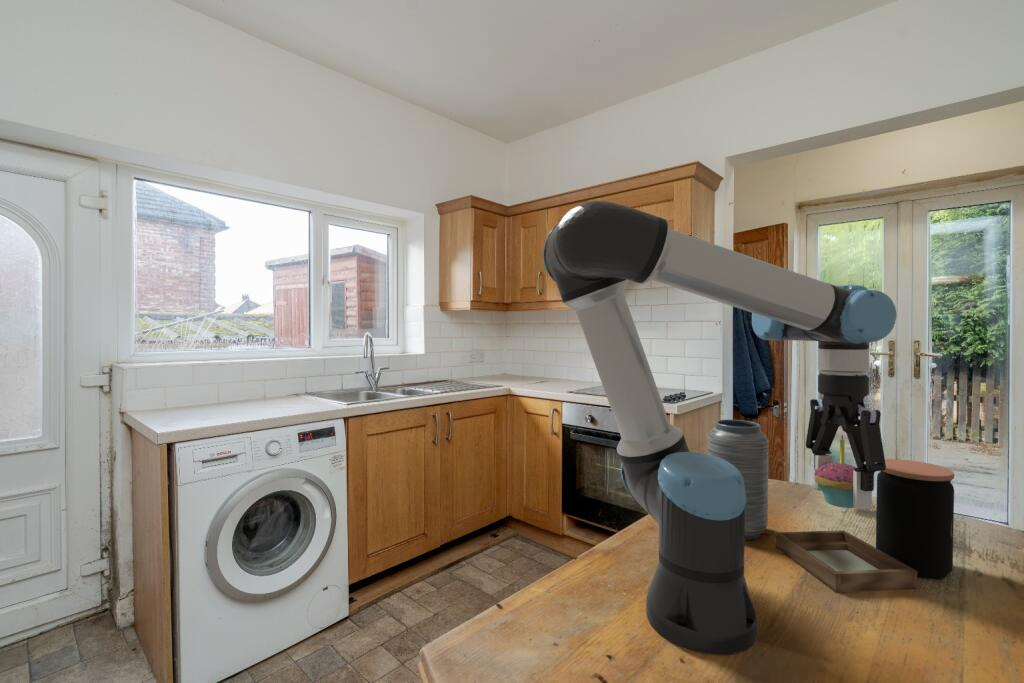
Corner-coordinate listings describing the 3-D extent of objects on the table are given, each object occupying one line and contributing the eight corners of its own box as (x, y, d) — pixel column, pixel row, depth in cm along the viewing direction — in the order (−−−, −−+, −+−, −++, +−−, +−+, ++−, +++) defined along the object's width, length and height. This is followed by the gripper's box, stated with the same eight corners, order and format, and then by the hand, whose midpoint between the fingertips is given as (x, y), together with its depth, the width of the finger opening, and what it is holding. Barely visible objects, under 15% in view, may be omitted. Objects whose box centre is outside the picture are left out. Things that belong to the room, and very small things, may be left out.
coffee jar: (968, 584, 80) (971, 477, 80) (895, 578, 82) (897, 474, 82) (927, 555, 91) (929, 460, 90) (863, 550, 93) (865, 457, 92)
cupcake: (814, 492, 92) (814, 430, 92) (869, 500, 87) (870, 435, 87) (813, 506, 85) (814, 439, 84) (873, 516, 80) (874, 445, 80)
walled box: (835, 592, 78) (835, 573, 78) (775, 547, 94) (775, 532, 94) (916, 589, 79) (917, 571, 79) (843, 545, 95) (843, 530, 95)
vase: (737, 517, 109) (738, 416, 108) (780, 538, 98) (782, 426, 97) (695, 523, 105) (696, 420, 105) (735, 546, 94) (736, 430, 94)
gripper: (917, 378, 75) (915, 521, 76) (820, 367, 96) (819, 479, 97) (871, 379, 75) (869, 523, 75) (784, 368, 96) (784, 480, 97)
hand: (841, 498), depth 86 cm, fingers closed on cupcake, 9 cm apart
